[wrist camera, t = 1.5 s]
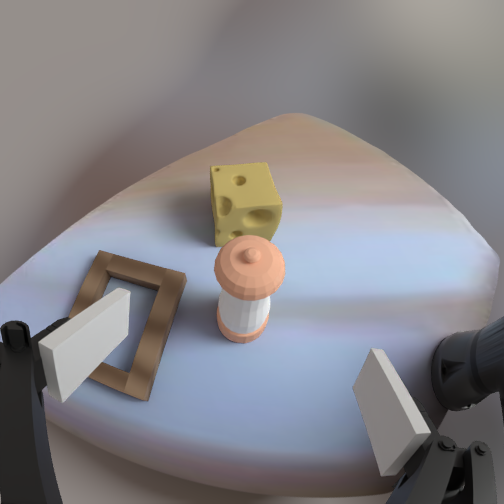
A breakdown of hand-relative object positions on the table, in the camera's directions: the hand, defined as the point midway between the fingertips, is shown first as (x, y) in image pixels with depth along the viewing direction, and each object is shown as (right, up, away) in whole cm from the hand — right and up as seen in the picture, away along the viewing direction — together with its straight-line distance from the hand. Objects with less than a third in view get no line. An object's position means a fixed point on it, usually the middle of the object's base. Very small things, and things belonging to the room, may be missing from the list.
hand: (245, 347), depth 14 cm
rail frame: (-20, -6, +26) cm, 33 cm away
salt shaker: (-1, -5, +29) cm, 29 cm away
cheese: (-2, +10, +38) cm, 40 cm away
